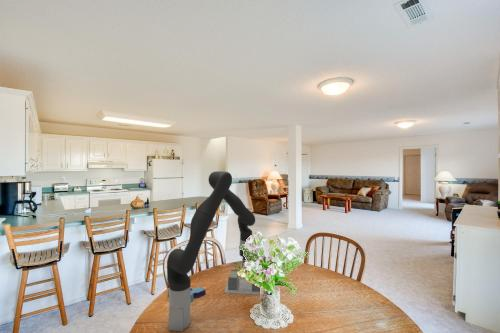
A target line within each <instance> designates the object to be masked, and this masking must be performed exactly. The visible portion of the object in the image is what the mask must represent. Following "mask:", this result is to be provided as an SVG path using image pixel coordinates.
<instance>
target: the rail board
mask: <svg viewBox="0 0 500 333" xmlns="http://www.w3.org/2000/svg"><path fill="white" fill-rule="evenodd" d="M238 270H239V269H230V273H229V275H228V279H227V282H226V285H225V288H224V293H225V294H227V293H228V294H238V295H239V294H241V295H258V296H259V295H260V288H259V287H257V286H255V285H254V284H252V283H249V282H247V281H246V280H240V276H238V274H237V271H238ZM260 296H261V295H260Z"/></svg>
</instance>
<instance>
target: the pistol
mask: <svg viewBox="0 0 500 333" xmlns="http://www.w3.org/2000/svg"><path fill="white" fill-rule="evenodd" d="M206 294H207V289H206V288H204V287H202V285H201V286H197V287H194V288H192V287H191V289H190V304H191V303H192V302H194V299H195V298H200V297H202V296H205V295H206ZM167 296H168V297H169V288H168V290H167Z"/></svg>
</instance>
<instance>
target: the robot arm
mask: <svg viewBox="0 0 500 333" xmlns="http://www.w3.org/2000/svg"><path fill="white" fill-rule="evenodd" d="M232 183H233V177H232V174H231V173H230V172H229V171H218V170H217V171H212V172H211V173H210V174H209V176H208V184H209V186H210V187H211V188H212V189H213V191H212V193H211V194H210V195H209V196H208V197H207V198H206V199H205V200H203V202H201V204H200V205H199V206H198V207H197V208H196V210H195V212H194V214H193V216H192V218H191V220H190V226H189V227H190V228H189V239H188V242H187V244H186V245H185V246H186V247H185V248H184V249H182V248H175V249H173V250H172V251H170V253H169V254H168V257H167V260H166V276H167V278H166V279H167V282H168V286H169V287H168V289H169V296H168V331H171V332H172V331H173V332H174V331H175V332H183V331H184V330H185V329H187V328H188V327H189V326H190V325H191V303H190V289H191V288H192V287H191V284H192V281H191V278H190V276H189V275H188V274H189V273H190V271H191V270H192V269H193V267H194V266H195V264H196V261H197V258H198V255H199V252H200V249H201V246H202V245H203V242H204V241H205V239H206V238H205V237H206V235H207V232H208V231H209V228H210V227H211V225H212V223H213V221H214V219H215V216H216V214H217V211H218V209H219V207H220V205H221V204H222V202H223V200H224V201H225V202H226V203H227V205H228V206H229V207H230V208H231V210H232V212H234V214H235V215H236V216H237V224H238V225H237V226H238V228H239V229H238V230H239V235H240V237H239V247H240V246H241V245H242V244H245V242H246V239H247V238H248V237H249V236H250V235H252V236H253V230H252V229H251V228H249V227H252V226H253V225H254V224H256V216H255V215H254V213H253V212H252V211H250V210H249V209H248V208H247V207H246V205H245V203H244V202H243V201H242V200H241V198H240V197H239V196H238V195H236V194H235V193H234V192H233V191H231V189H230V188H231V186H232ZM238 254H239V256H240V257H241V258H242V259H241V263H242V267H243V265H244V262H245V260H246V259H245V257H244V256H243V251H242V250H240V249H239V253H238Z"/></svg>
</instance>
